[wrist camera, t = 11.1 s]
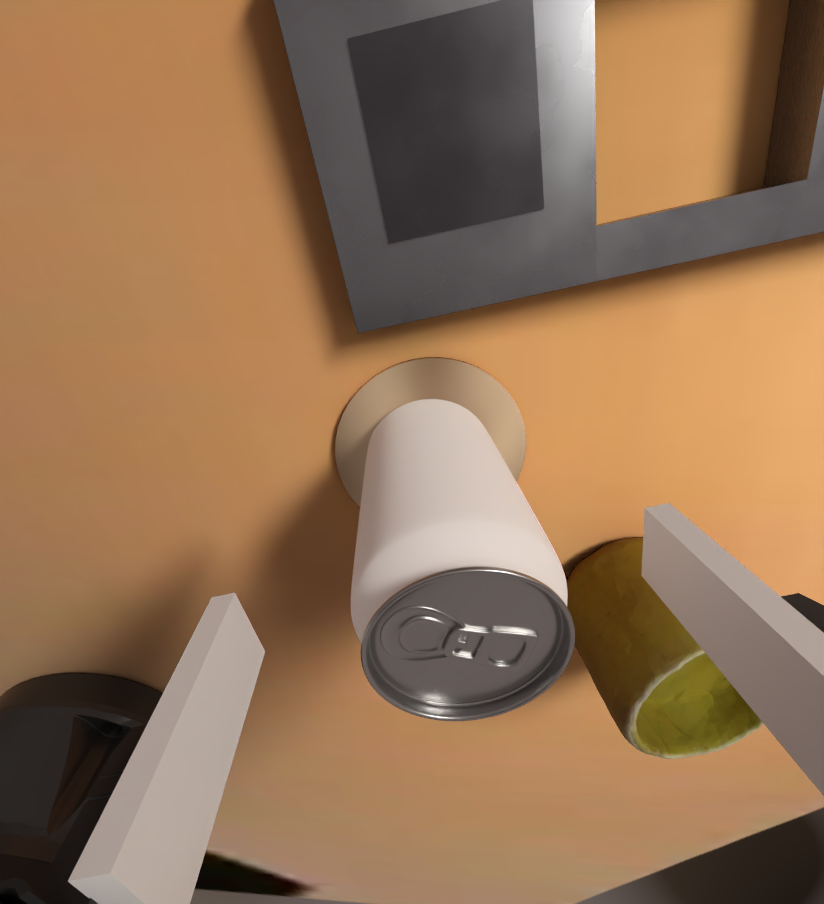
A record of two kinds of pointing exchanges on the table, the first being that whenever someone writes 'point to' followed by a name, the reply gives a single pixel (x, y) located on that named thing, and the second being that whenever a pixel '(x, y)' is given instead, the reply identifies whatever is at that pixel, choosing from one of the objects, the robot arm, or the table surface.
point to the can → (453, 572)
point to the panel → (508, 153)
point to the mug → (650, 661)
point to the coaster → (418, 384)
